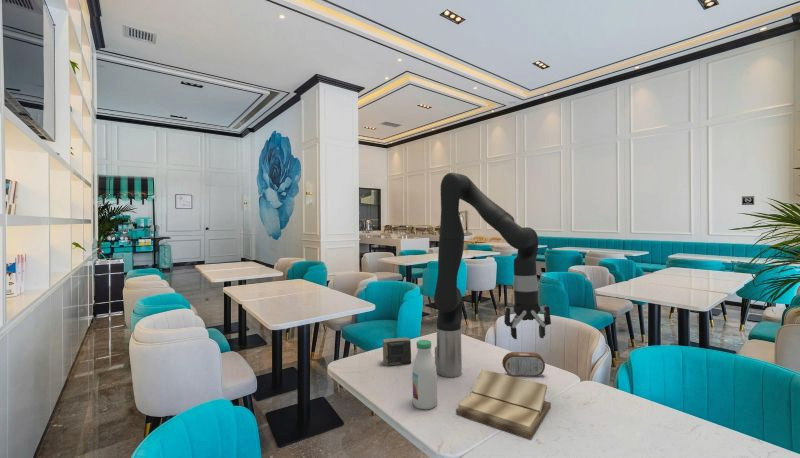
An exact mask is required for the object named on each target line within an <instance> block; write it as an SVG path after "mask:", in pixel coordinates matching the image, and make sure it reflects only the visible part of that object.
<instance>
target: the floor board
mask: <svg viewBox="0 0 800 458" xmlns="http://www.w3.org/2000/svg"><path fill="white" fill-rule="evenodd" d="M457 405H458V407H457V408H456V409H455V415H457V416H460V417H463V418H466V419H469V420H472V421H475V422H477V423H480V424H484V425H486V426H489V427H492V428H495V429H498V430H501V431H504V432H508V433H510V434H513V435H516V436H518V437H522V438H525V439H527V438H528V440H532V438H533V436H535V434H536V431H537V430H538V428H539V427H540V425H541V423H542V422H543V420H544V419H545V417H546V416H547V414H548V412H549V410H551V408H552V407H551V406H552V405H551V401H547V400H544V402H543V406H542V410H541V414H539V412H537V411H533V410H530V409H526V408H523V407H519V406H516V405H512V404H509V403H506V402H502V401H499V400H495V399H492V398H488V397H485V396H481V395H478V394H475V393H472V392H470V393H469V394H468V395H467V396H466V397H465V398H463V399H462V400H461V401H460V402H459V403H458V404H457Z"/></svg>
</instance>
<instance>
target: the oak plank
mask: <svg viewBox="0 0 800 458" xmlns="http://www.w3.org/2000/svg"><path fill="white" fill-rule="evenodd" d="M471 391H472V392H471V393H475V394H478V395H481V396H485V397H488V398H492V399H495V400H499V401H502V402H506V403H509V404H512V405H516V406H519V407H523V408H526V409H530V410H533V411H537V412H539V414H541V410H542V406H543V402H544V401H545V399H546V394H547V391H548V386H547V384H544V383H541V382H538V381H533V380H532V381H531V380H529V379H524V378H520V377H518V376H512V375H509V374H504V373H499V372H495V371H491V370H488V369H483V368H481V369H480V372H479V374H478V376H477V379H476V381H475V384H474V386H473V388H472V390H471Z"/></svg>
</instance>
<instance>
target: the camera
mask: <svg viewBox="0 0 800 458" xmlns="http://www.w3.org/2000/svg"><path fill="white" fill-rule="evenodd" d="M411 343H412V342H411V339H410V337H397V338H396V337H395V338H385V339H383V340H382V358H383V359H382V360H383V361H382V362H383V365H384V366H386V365H387V366H396V365H395V364H398V365H405V363H407V364H411V363H412V347H411V346H412V344H411Z"/></svg>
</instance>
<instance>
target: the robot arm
mask: <svg viewBox="0 0 800 458" xmlns="http://www.w3.org/2000/svg"><path fill="white" fill-rule="evenodd" d="M460 200H461V201H464V202H466V203H467V204H469V206H471V207H472V208H473V209H475V210H476V212H477V213H478V214H479V216H480V217H481V218H482V220H483V221H484V222H485V223H487V224H488V225H489V226H490V227H491V228H493V229H494V230H496V231H497V232H498V234H500V236H501V238H503V240H505V242H506V243H507V244H508V245H509V246H510V247H512V248H513V249H516V250H517V253H516V255H517V256H516V257H515V258H514V259H513V298H514V299H513V300H514V301H513V303H514V304H513V306H512V307H511V306H508V305H507V306H504V325H505V326H506V327H510V336H511V337H512V338H513V340H518V337H517V335H518V334H517V333H518V332H517V326H518V324H519V323H520V322H521V321H528V320H529V321H533V320H535V321H536V322H537V324H539V325H538V336H539V338H540V339H544V337H546V326H548V325H549V326H550V325H551V324H552V322H551V321H552V320H551V319H552V318H551V312H550V306H548V305H546V304H543V305H541V306H540V303H539V302H540V301H539V282H538V277H537V256H538V250H539V249H538V248H539V238H538V236H539V235H538V233H537V232H536V231H535V230H534V229H533V228H532V227H528V226H527V227H522V226H520V225H519V223H516V221H515V218H514V217H513V215H512V214H511V213H509V212H508V211H506V210H505V209H503V208H502V207H501V206H500V205H498V204H497V203H495V201H493V200H492V199H491V198H489V197H488V196H487V195H486V194H484V192H482V191H481V190H480V188H478V186H477V185H476V184H474V182H473V180H471V179H470V178H469V177H468V176H467V175H464V174H461V173H457V172H448V173H446V174H445V175H444V176H443V178H442V180H441V183H440V224H439V225H440V226H439V239H438V256H437V277H436V285H435V290H434V294H433V295H434V296H433V301H434V304H435V305H434V306H435V307H436V308H437V310H438V314H437V319H436V323H435V324H436V346H435V347H434V361H435V364H436V372H437V374H438V375H439V376H442V377H444V378H457V377H459V376H461V375H462V371H463V370H462V366H463V364H462V363H463V362H462V358H463V357H462V319H463V318H462V317H463V295H462V292H461V290H460V288H459V287H458V274H459V270H460V267H461V263H462V259H463V254H464V247H465V231H464V227H463V224H462V220H461V217H460V212H459V211H460V207H459V206H460ZM513 312H514V313H515V315H514V316H513V318H512V320H511V314H512V313H513ZM540 312H542V313H543V320H542V318H541V317H540V316H539V315H538V314H540Z"/></svg>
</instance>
